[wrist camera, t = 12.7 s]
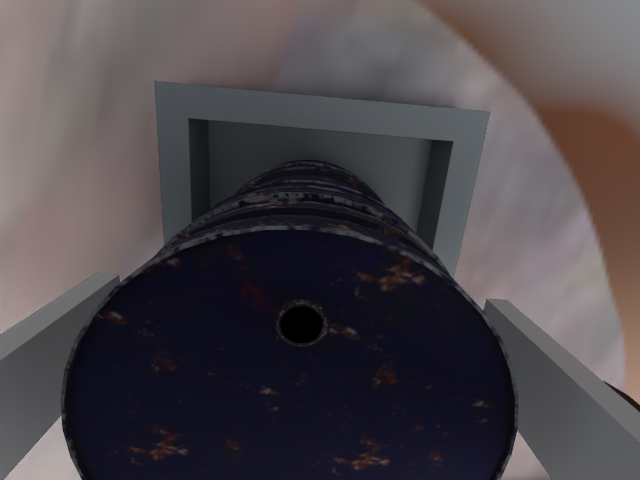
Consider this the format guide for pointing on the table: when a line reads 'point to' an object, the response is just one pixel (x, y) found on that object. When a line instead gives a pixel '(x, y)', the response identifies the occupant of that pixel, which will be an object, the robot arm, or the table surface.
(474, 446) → the storage jar
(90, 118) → the table surface
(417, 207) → the tray
